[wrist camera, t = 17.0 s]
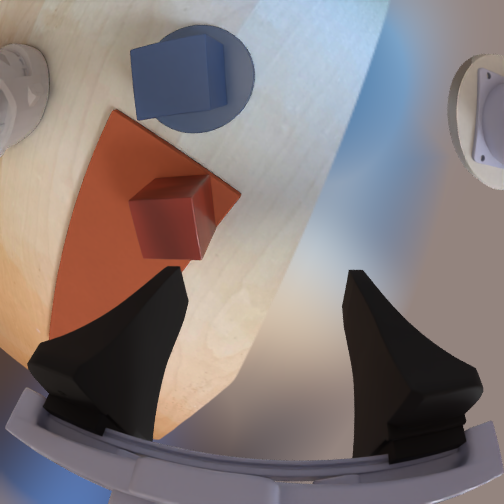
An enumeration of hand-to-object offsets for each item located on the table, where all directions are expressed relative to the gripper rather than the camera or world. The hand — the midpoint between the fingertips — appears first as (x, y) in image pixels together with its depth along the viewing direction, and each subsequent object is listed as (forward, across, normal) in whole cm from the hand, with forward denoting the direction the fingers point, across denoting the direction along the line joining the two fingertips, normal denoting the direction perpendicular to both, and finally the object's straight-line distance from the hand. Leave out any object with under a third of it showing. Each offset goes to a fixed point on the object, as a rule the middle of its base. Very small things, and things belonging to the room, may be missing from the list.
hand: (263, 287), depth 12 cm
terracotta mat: (+10, +20, +11) cm, 25 cm away
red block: (+10, +7, 0) cm, 12 cm away
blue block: (+10, +5, -9) cm, 14 cm away
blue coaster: (+10, +5, -9) cm, 15 cm away
